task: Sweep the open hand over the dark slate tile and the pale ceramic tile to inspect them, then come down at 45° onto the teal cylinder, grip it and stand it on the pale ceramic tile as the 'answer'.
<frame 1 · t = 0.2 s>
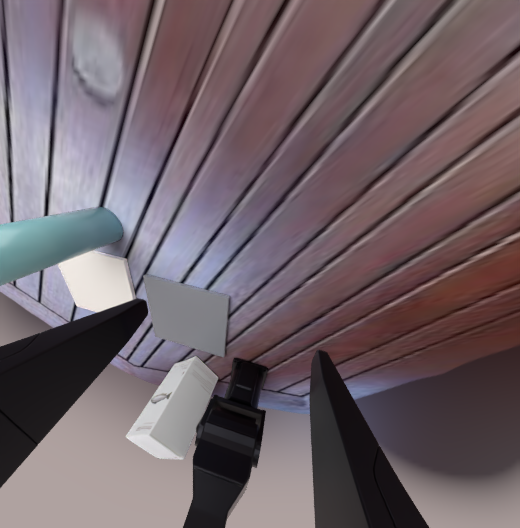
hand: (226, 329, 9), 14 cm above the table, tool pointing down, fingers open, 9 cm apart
teal cylinder: (107, 224, 26), on the table
slate tile: (188, 317, 31), on the table
supplement box: (197, 368, 39), on the table
pale tile: (100, 284, 32), on the table
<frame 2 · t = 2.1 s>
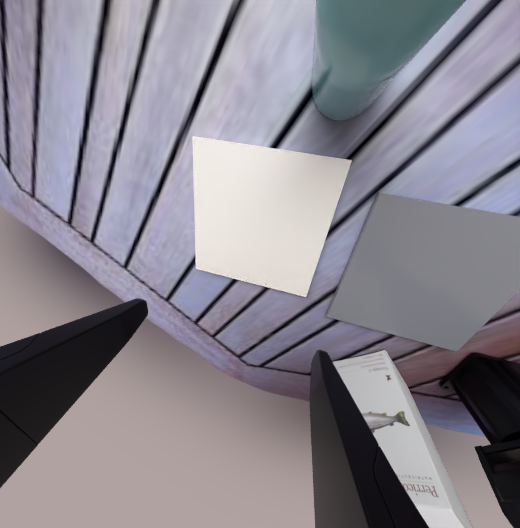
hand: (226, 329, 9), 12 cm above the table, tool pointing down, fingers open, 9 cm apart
teal cylinder: (348, 77, 13), on the table
slate tile: (420, 279, 18), on the table
supplement box: (366, 370, 25), on the table
pale tile: (257, 225, 19), on the table
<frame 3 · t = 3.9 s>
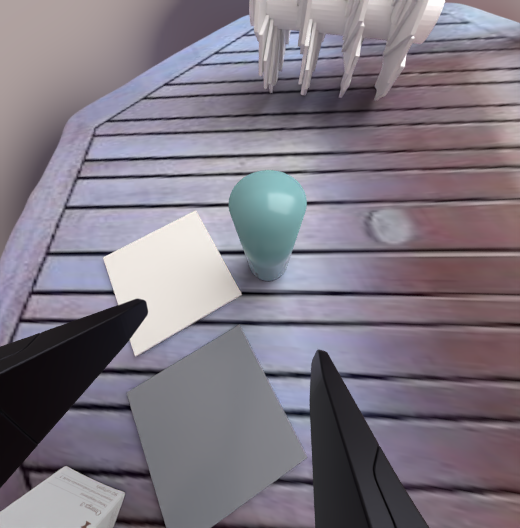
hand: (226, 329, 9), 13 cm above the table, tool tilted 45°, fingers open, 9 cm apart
teal cylinder: (268, 262, 24), on the table
slate tile: (212, 420, 19), on the table
spiral staircase: (321, 88, 34), on the table
supplement box: (79, 520, 18), on the table
pale tile: (171, 276, 24), on the table
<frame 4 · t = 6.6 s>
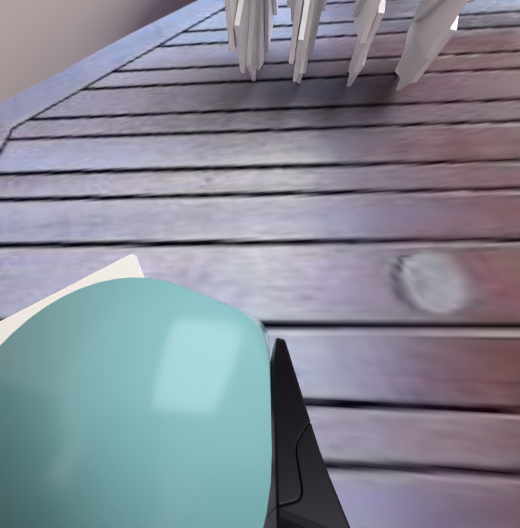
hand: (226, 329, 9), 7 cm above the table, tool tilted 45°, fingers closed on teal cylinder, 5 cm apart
teal cylinder: (239, 342, 15), on the table, touching gripper
spiral staircase: (322, 75, 25), on the table
pale tile: (83, 365, 15), on the table
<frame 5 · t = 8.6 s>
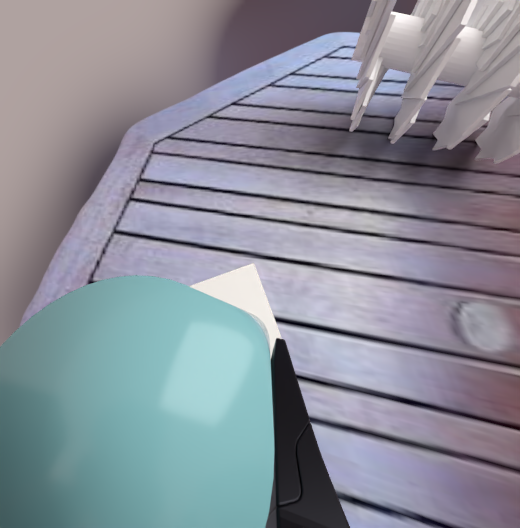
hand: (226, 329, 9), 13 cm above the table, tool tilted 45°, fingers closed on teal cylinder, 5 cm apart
teal cylinder: (239, 342, 15), point 7 cm above the table, touching gripper
spiral staircase: (410, 133, 29), on the table
pale tile: (218, 337, 22), on the table
when the fingers open (8 cm above the table, at t = 10.5 s): teal cylinder stays where it is, resting on pale tile.
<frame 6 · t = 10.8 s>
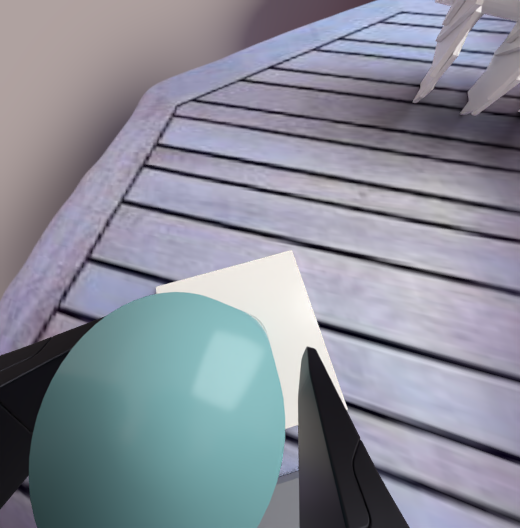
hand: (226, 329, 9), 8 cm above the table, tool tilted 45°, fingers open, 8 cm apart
teal cylinder: (240, 341, 16), point 1 cm above the table, touching pale tile
spiral staircase: (487, 109, 24), on the table
pale tile: (241, 340, 17), on the table
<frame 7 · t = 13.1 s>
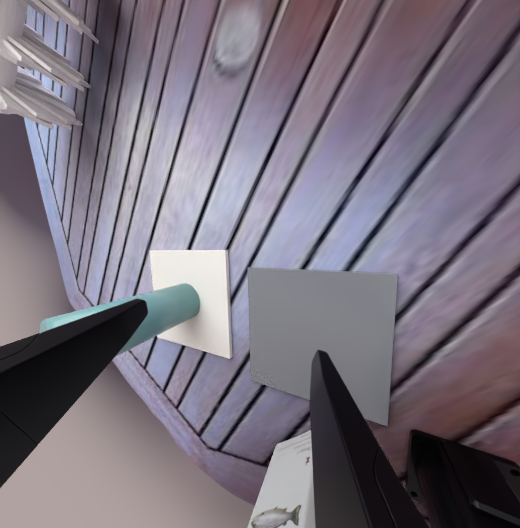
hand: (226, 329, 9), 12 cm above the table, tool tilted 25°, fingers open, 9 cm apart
teal cylinder: (186, 300, 26), point 1 cm above the table, touching pale tile
slate tile: (310, 335, 19), on the table
spiral staircase: (90, 62, 30), on the table
supplement box: (318, 460, 21), on the table
pale tile: (189, 298, 26), on the table
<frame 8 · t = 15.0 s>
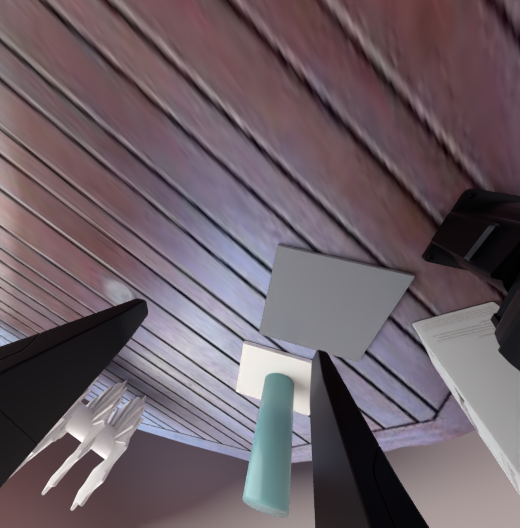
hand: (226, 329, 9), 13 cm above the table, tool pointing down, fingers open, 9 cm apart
teal cylinder: (279, 382, 31), point 1 cm above the table, touching pale tile
slate tile: (321, 307, 23), on the table
spiral staircase: (113, 374, 45), on the table
supplement box: (456, 333, 21), on the table
pale tile: (279, 378, 31), on the table
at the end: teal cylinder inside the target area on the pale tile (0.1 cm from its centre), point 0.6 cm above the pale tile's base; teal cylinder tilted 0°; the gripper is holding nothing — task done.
